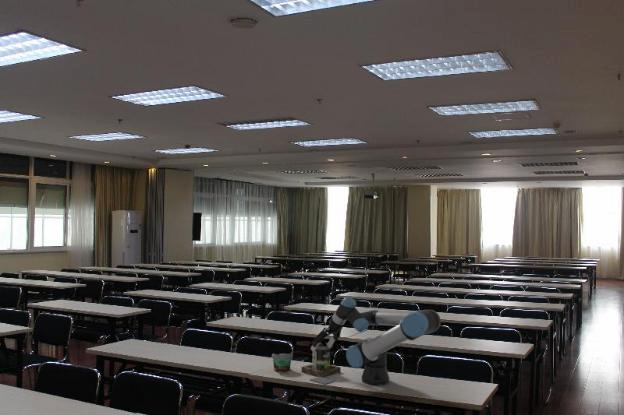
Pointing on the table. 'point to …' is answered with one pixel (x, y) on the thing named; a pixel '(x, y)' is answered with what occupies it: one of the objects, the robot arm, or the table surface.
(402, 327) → the robot arm
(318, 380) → the mat
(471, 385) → the table surface
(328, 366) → the coffee can
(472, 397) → the table surface
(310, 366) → the wooden tray
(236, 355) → the table surface
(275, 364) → the food container
